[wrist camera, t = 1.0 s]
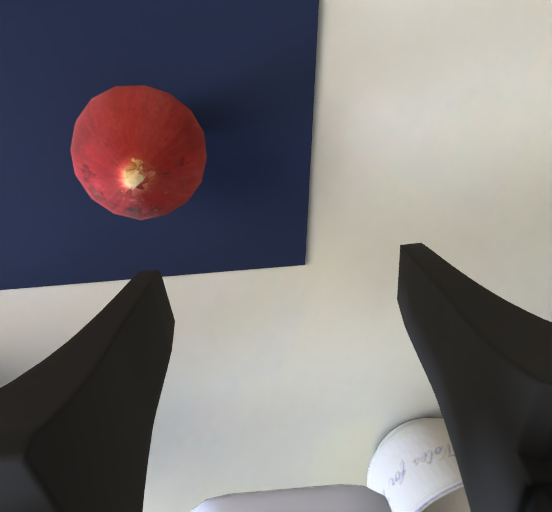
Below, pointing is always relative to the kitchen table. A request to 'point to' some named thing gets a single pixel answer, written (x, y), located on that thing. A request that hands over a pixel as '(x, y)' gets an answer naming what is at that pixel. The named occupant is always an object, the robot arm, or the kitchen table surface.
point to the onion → (138, 151)
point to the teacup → (418, 469)
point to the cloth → (189, 91)
